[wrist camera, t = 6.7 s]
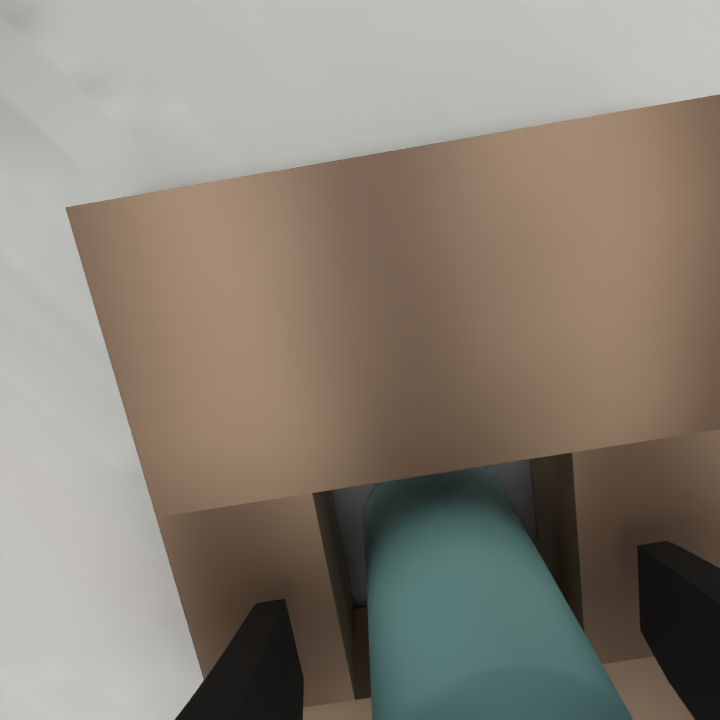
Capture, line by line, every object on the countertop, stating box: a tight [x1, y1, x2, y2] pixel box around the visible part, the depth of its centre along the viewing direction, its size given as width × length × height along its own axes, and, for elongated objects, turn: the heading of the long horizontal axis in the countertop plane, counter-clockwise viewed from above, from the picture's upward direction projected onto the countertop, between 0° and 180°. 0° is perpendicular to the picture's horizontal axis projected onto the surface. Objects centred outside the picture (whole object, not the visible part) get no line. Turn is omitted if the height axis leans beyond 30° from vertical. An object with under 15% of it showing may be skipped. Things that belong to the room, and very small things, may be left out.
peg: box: [364, 467, 633, 720], centre depth 11 cm, size 4×4×7 cm
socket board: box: [66, 95, 720, 720], centre depth 13 cm, size 12×18×3 cm, turn 9°
